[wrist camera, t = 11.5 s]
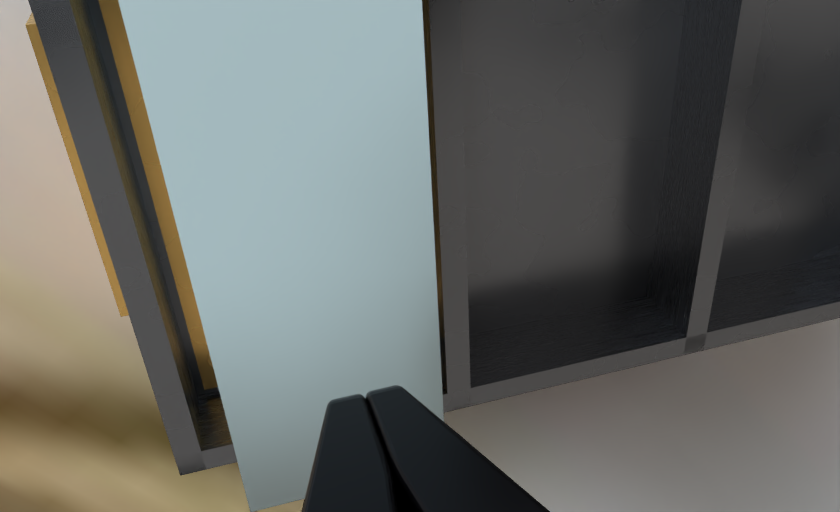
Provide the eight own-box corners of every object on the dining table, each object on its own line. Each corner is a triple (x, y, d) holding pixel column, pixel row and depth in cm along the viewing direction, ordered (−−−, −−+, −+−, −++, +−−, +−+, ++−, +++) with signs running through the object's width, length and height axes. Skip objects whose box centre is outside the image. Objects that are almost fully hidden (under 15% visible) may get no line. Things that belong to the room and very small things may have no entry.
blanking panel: (97, -207, 13) (67, -191, 9) (336, -224, 14) (411, -217, 10) (231, 355, 20) (250, 512, 15) (388, 321, 20) (445, 462, 16)
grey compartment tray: (1019, -358, 16) (1146, -376, 14) (845, 254, 25) (909, 301, 23) (-49, -310, 12) (-93, -325, 10) (170, 403, 21) (171, 477, 19)
